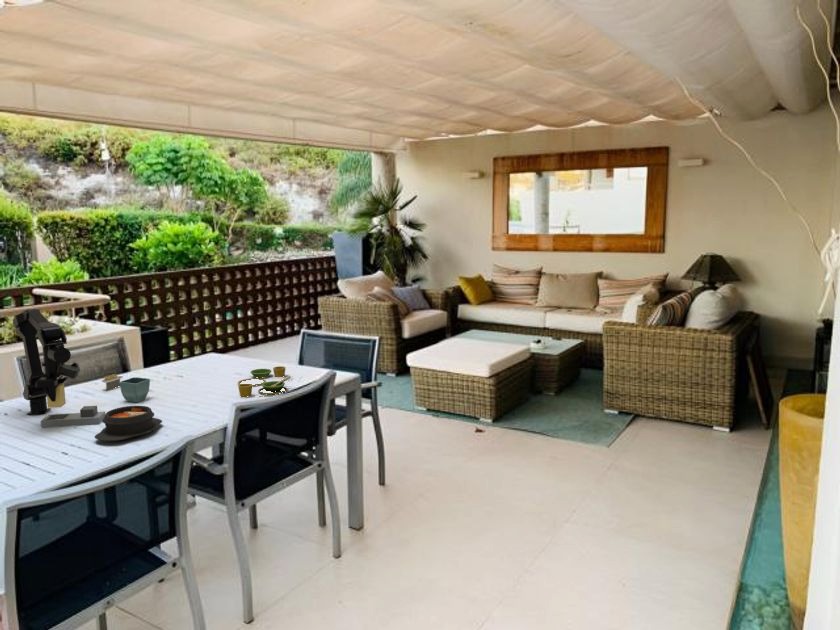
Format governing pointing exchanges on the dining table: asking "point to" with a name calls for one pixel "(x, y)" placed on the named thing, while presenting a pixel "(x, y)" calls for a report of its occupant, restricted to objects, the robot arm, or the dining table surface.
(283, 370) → the tableware set
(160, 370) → the dining table surface
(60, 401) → the plug
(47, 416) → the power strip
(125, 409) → the casserole
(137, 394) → the flower pot
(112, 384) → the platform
